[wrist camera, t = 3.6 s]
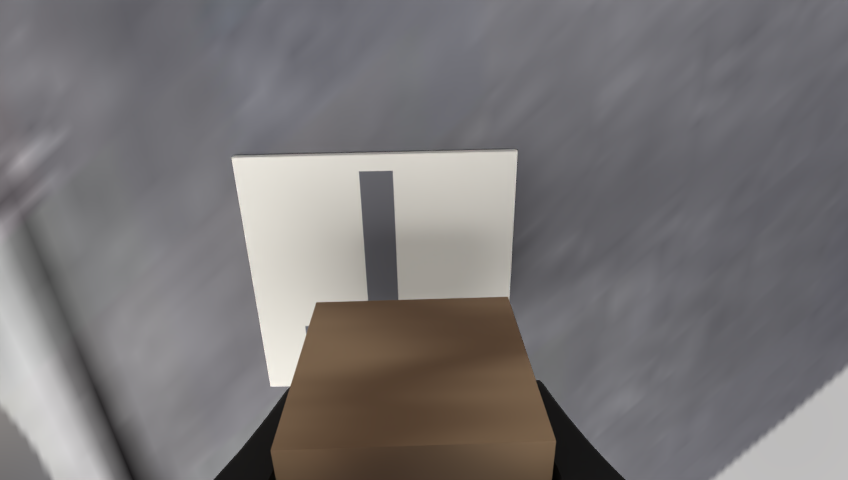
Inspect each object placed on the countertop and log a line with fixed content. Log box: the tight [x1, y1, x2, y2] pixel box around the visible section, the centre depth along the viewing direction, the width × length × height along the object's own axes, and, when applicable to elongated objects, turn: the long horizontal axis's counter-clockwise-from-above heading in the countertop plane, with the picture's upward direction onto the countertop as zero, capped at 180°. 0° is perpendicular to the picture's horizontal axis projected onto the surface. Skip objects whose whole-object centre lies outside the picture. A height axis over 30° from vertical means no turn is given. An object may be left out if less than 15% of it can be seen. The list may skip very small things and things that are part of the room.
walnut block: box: [271, 297, 556, 480], centre depth 13 cm, size 5×5×5 cm
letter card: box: [232, 149, 518, 387], centre depth 21 cm, size 10×10×1 cm
